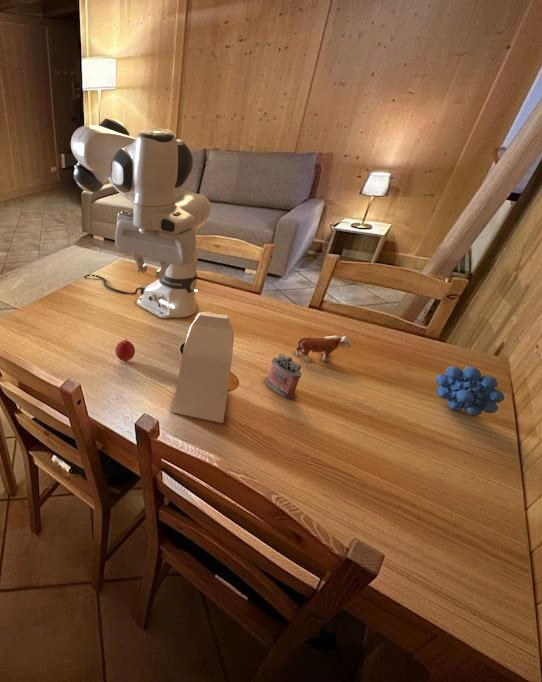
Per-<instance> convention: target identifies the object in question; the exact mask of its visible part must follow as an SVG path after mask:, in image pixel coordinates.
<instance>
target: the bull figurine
mask: <svg viewBox="0 0 542 682" xmlns="http://www.w3.org/2000/svg"><path fill="white" fill-rule="evenodd" d="M352 345H353V344H351V341H350V339H349V338H348V337H347V335H345V334H342V336H340V335H330V336H329V335H326V336H303V337H300V338H299V340H298V341H297V347H296V348H295V349H296V352H295V355H297V357H301V358H302V357H304V360H305V361H307V362H312V360H311V358H310V357H309V353H310V352H311V353H323V352H324V353H323V356H322V358H321V360H322V361H323V362H327V358H328V357H329V355H330V354H332V353H333V352H334V351H335V350H338V349H339V348H347V349H351V348H352V347H353V346H352Z"/></svg>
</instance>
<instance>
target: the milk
mask: <svg viewBox="0 0 542 682" xmlns="http://www.w3.org/2000/svg"><path fill="white" fill-rule="evenodd" d="M234 339H235V332H234V330H233V328H232V323H231V321H230V318H229V315H227V314H219V313H210V312H202V311H201V312H199V313H198V315H197V316H196V317H195V319H194V320H193V322H192V323H191V324H190V325H189V328H188V332H187V335H186V339H185V341H184V342H185V343H184V347H183V349H182V354H181V359H180V365H179V371H178V379H177V385H176V391H175V396H174V403H173V408H172V413H175V414H178V415H183V416H188V417H193V418H197V419H202V420H205V421H211V422H216V423H221V424H223V423H224V419H225V413H226V412H225V411H226V405H227V398H228V390H229V384H230V376H231V370H232V364H233V352H234V351H233V350H234Z"/></svg>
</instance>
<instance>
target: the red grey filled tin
mask: <svg viewBox="0 0 542 682" xmlns="http://www.w3.org/2000/svg"><path fill="white" fill-rule="evenodd" d="M301 368H302V365H301V364H299V363H298V362H297V361H295V360H293V358H292V357H291V356H286V355H285V354H283V353H279V354H278V356H277V357H274V358H272V359H271V365H270V369H269V371H268V376H267V377H266V380H265V383H266V384H267V386H268V387H270V388H271V389H272V390H273V391H274V392H275V393H277V394H279V395H281V396H282V397H283V398H286V399H293V398H294V397H295V395H296V394H295V393H296V389H297V386H298V384H299V381H300V378H301V377H302V375H303V373H302V372H301Z"/></svg>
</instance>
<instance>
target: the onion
mask: <svg viewBox="0 0 542 682" xmlns="http://www.w3.org/2000/svg"><path fill="white" fill-rule="evenodd" d="M135 354H136V348H135V346H134V343H132V342H131V341H130V340H128V339H127V338H125V339H124V340H121V341H120V342H118V343H117V344H116V347H115V356H116V357H117V358H118V359H119V360H120V361H122V362H128V361H131V359H133V358H134V356H135Z"/></svg>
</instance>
